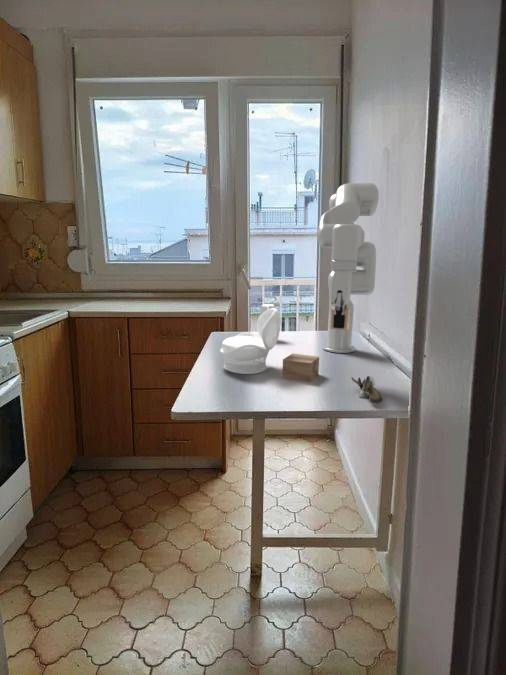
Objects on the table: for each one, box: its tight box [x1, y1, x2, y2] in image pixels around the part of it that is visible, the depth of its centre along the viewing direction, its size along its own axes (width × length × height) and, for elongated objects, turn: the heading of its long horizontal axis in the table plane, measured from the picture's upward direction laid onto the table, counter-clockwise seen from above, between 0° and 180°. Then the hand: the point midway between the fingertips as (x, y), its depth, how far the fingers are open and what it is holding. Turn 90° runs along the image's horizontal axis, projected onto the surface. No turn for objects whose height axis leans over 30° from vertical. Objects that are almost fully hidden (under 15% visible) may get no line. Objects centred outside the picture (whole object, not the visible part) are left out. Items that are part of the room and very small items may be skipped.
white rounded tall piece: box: [259, 303, 277, 340], centre depth 192 cm, size 7×7×15 cm
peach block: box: [331, 307, 350, 330], centre depth 137 cm, size 5×5×6 cm
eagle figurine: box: [350, 375, 383, 404], centre depth 122 cm, size 8×7×9 cm
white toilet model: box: [219, 308, 282, 375], centre depth 147 cm, size 20×20×20 cm
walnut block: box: [281, 353, 320, 383], centre depth 141 cm, size 9×9×6 cm
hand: (340, 325), depth 137 cm, fingers closed on peach block, 5 cm apart
